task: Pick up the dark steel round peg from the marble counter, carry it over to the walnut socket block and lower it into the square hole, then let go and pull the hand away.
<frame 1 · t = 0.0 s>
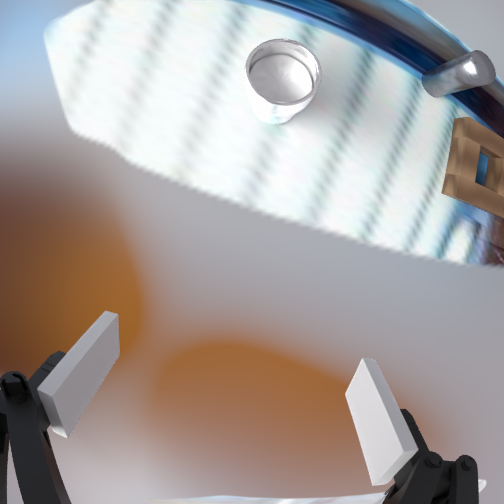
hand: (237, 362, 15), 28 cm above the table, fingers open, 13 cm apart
steel peg: (433, 83, 34), on the table
beer glass: (274, 103, 36), on the table
socket block: (475, 167, 37), on the table
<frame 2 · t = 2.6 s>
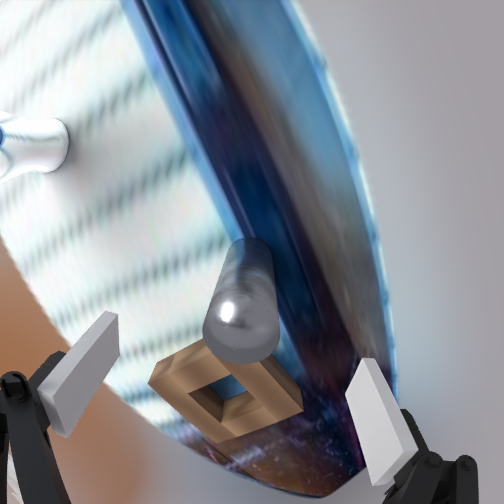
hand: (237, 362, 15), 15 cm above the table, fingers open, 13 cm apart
steel peg: (249, 259, 29), on the table
beer glass: (50, 145, 26), on the table
socket block: (228, 377, 34), on the table
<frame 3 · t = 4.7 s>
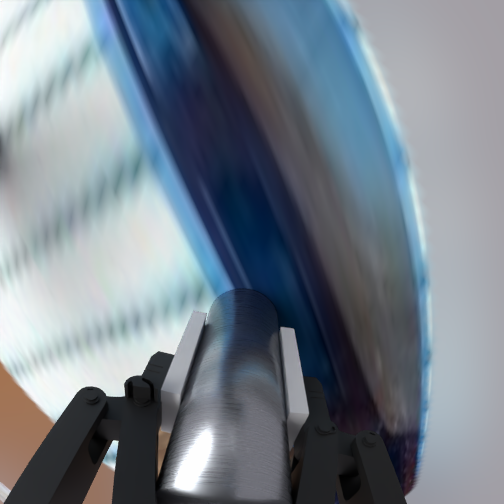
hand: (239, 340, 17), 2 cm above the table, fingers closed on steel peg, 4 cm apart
steel peg: (242, 319, 19), on the table, touching gripper
socket block: (218, 451, 23), on the table
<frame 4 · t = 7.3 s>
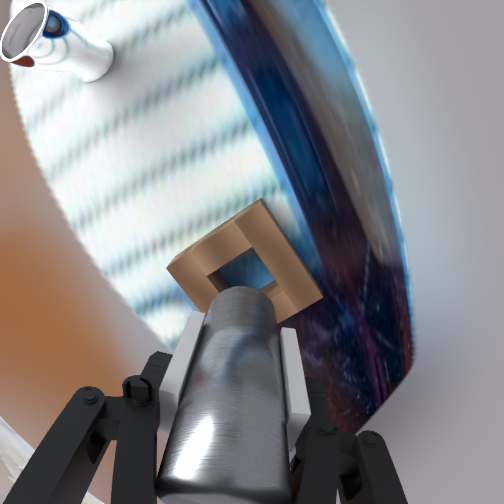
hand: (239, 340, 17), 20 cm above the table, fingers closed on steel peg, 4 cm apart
ramekin: (36, 468, 64), on the table
steel peg: (242, 316, 19), point 17 cm above the table, touching gripper
beer glass: (95, 61, 28), on the table
socket block: (246, 270, 36), on the table
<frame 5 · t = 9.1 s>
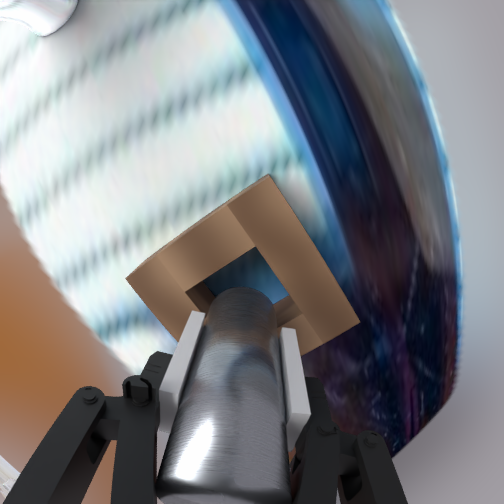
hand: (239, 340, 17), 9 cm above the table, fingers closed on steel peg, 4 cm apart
ramekin: (20, 485, 51), on the table
steel peg: (242, 317, 19), point 6 cm above the table, touching gripper
beer glass: (56, 12, 17), on the table
socket block: (246, 281, 25), on the table
when the fingers open (6 cm above the table, at t = 10.2 s): steel peg drops 3 cm, on the table.
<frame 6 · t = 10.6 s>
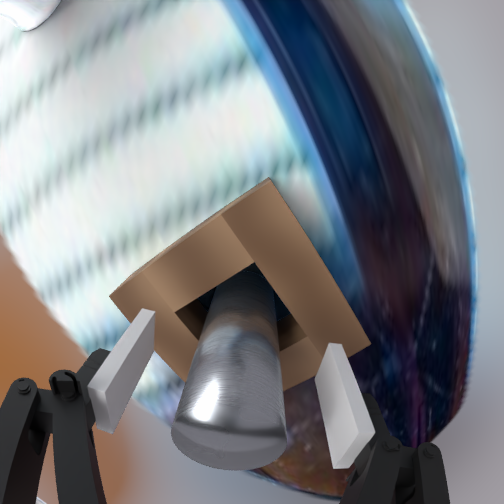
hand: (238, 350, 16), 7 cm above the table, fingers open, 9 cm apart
steel peg: (244, 298, 22), on the table
beer glass: (41, 5, 15), on the table
socket block: (244, 298, 22), on the table
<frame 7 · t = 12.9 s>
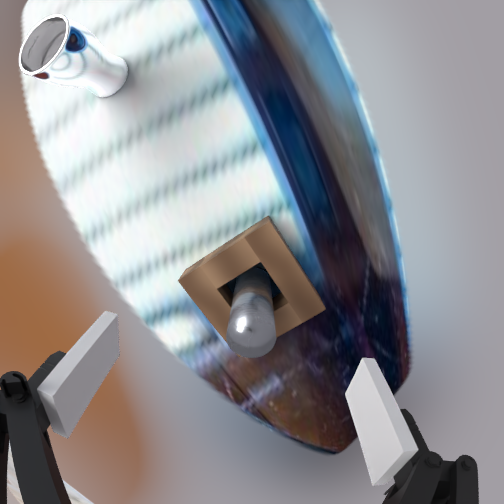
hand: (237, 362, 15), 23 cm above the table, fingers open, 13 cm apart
steel peg: (253, 283, 38), on the table
beer glass: (108, 77, 31), on the table
socket block: (253, 283, 38), on the table
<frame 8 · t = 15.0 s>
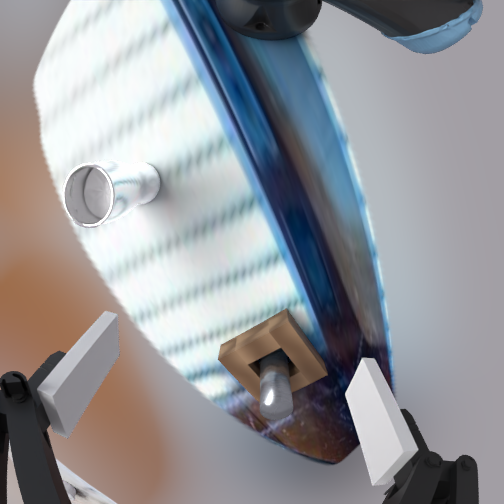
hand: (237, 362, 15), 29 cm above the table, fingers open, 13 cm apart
ramekin: (66, 484, 74), on the table
steel peg: (273, 354, 48), on the table
beer glass: (141, 183, 40), on the table
socket block: (273, 353, 48), on the table
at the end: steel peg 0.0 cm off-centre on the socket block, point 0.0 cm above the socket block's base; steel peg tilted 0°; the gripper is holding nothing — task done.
